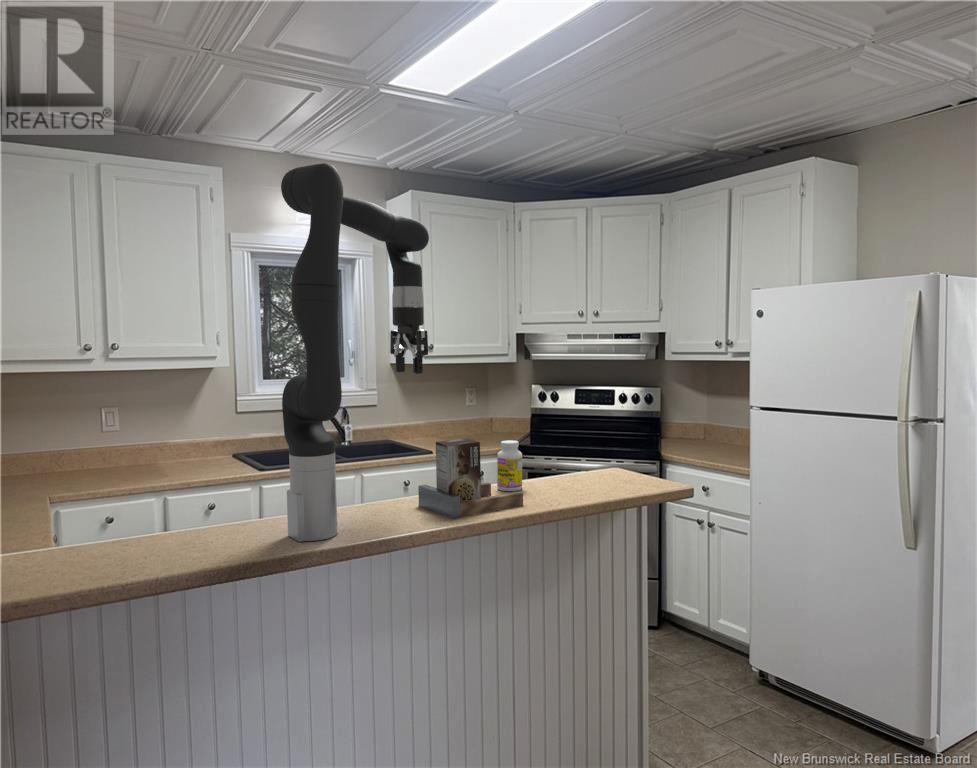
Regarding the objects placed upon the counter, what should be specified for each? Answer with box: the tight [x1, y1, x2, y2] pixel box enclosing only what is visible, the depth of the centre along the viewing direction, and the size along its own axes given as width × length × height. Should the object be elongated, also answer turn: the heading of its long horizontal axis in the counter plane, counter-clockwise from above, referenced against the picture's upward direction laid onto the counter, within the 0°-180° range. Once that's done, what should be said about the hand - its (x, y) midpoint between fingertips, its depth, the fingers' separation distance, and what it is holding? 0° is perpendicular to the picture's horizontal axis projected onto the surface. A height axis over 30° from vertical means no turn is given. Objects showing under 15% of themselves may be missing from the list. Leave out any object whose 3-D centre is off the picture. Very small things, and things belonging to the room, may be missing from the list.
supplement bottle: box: [496, 439, 523, 492], centre depth 183 cm, size 7×7×13 cm
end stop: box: [417, 484, 462, 520], centre depth 160 cm, size 2×15×5 cm, turn 37°
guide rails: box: [460, 482, 524, 518], centre depth 166 cm, size 18×15×3 cm
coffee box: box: [435, 437, 482, 502], centre depth 163 cm, size 9×6×16 cm
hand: (409, 372), depth 167 cm, fingers open, 8 cm apart
